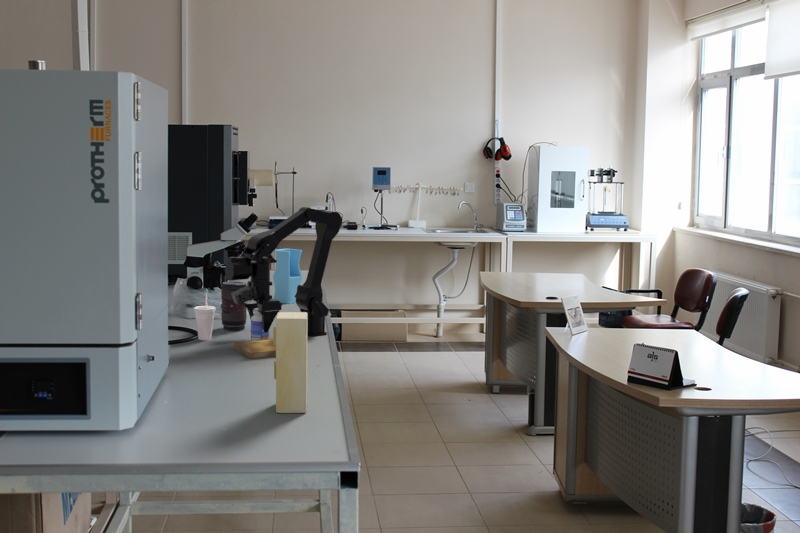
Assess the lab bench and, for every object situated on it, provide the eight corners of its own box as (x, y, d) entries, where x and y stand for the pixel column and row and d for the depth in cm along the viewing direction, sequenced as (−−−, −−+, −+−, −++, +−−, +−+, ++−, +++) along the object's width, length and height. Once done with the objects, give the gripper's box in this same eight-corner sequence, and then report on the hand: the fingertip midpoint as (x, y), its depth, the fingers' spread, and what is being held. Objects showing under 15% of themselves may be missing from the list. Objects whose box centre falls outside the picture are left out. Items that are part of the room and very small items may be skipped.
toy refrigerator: (274, 402, 180) (275, 311, 178) (307, 402, 181) (308, 311, 178) (271, 413, 172) (272, 318, 170) (306, 413, 173) (307, 318, 170)
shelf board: (280, 342, 239) (280, 327, 238) (300, 352, 227) (300, 337, 226) (232, 347, 231) (232, 332, 230) (250, 358, 219) (250, 342, 218)
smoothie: (210, 342, 237) (210, 295, 235) (190, 340, 238) (189, 294, 236) (219, 337, 243) (219, 292, 241) (199, 336, 244) (199, 291, 242)
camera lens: (244, 332, 252) (244, 285, 250) (218, 331, 252) (218, 284, 250) (249, 326, 260) (249, 281, 258) (224, 325, 260) (224, 280, 258)
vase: (288, 304, 302) (288, 251, 299) (272, 301, 306) (273, 249, 304) (301, 301, 309) (302, 250, 306) (286, 298, 313) (286, 248, 310)
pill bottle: (265, 343, 237) (265, 311, 236) (247, 342, 238) (248, 310, 237) (271, 339, 242) (271, 308, 241) (254, 338, 244) (255, 306, 242)
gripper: (223, 275, 241) (223, 325, 243) (246, 284, 226) (246, 338, 228) (258, 273, 247) (257, 322, 249) (282, 282, 232) (282, 334, 234)
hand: (259, 329), depth 240 cm, fingers open, 9 cm apart
